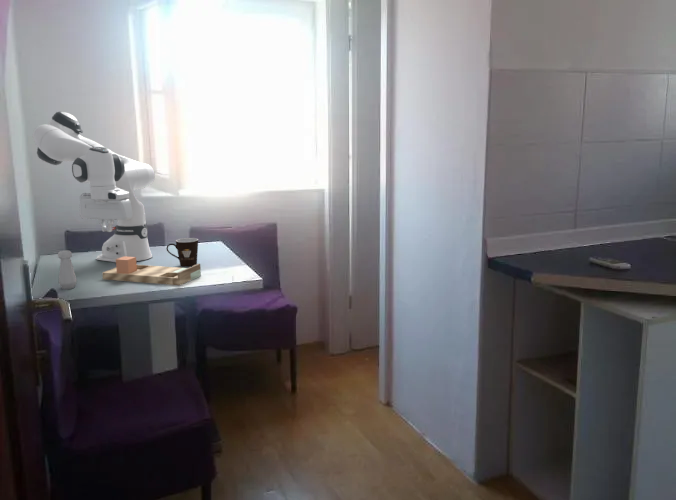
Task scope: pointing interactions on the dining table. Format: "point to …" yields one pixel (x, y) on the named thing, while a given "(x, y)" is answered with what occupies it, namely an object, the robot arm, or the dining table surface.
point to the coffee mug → (186, 251)
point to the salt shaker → (66, 271)
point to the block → (126, 265)
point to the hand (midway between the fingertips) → (107, 231)
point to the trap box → (156, 274)
